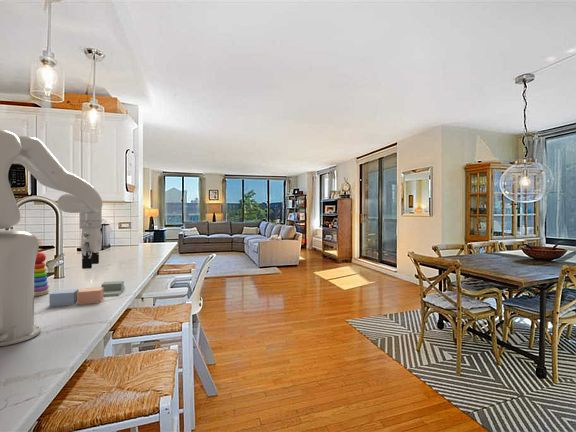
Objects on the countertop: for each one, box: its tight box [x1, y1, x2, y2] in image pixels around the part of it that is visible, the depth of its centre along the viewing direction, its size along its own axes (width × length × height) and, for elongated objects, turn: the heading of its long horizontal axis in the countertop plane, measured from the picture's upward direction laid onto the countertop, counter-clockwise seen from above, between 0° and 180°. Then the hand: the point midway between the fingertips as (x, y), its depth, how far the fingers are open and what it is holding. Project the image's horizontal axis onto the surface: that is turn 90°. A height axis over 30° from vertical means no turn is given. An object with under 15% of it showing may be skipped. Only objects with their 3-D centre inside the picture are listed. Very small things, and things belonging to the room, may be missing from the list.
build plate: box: [85, 280, 126, 297], centre depth 130 cm, size 13×16×4 cm
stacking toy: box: [34, 251, 50, 297], centre depth 126 cm, size 8×8×19 cm
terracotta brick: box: [76, 287, 104, 305], centre depth 118 cm, size 5×8×5 cm, turn 111°
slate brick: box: [48, 288, 80, 307], centre depth 115 cm, size 5×8×5 cm, turn 108°
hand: (90, 266), depth 118 cm, fingers open, 9 cm apart
